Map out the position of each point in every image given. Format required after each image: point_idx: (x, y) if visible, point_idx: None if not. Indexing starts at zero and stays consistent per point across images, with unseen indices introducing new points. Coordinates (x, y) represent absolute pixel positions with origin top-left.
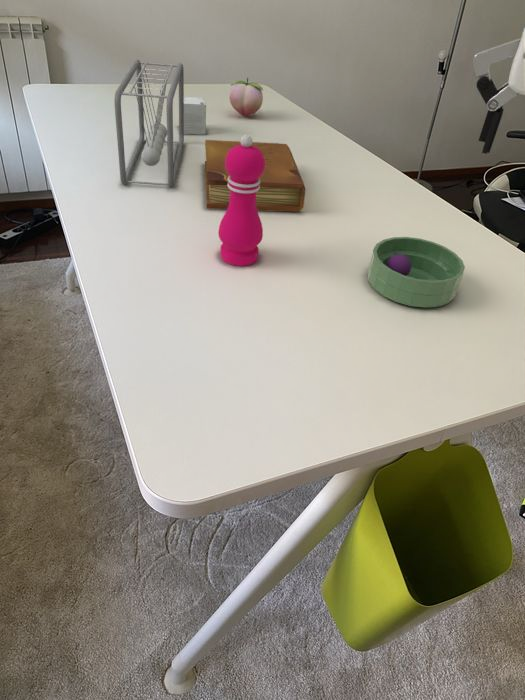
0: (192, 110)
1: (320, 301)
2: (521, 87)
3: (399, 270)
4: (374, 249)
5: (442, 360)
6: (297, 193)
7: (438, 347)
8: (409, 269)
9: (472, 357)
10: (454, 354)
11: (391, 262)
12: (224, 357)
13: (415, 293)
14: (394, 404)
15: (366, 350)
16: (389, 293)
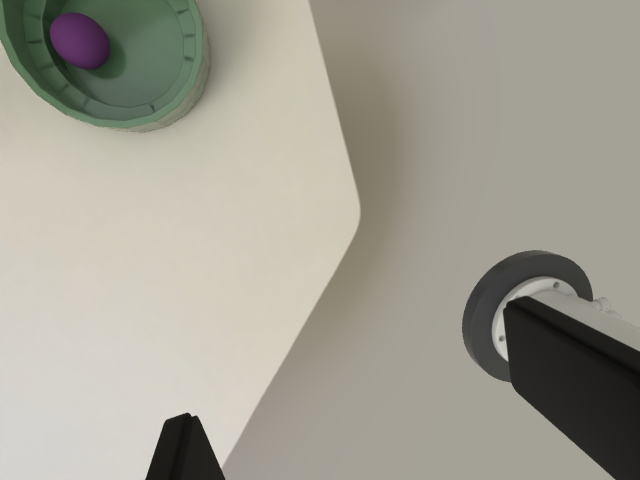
0: None
1: (52, 212)
2: None
3: (94, 64)
4: (13, 62)
5: (266, 211)
6: None
7: (250, 189)
8: (106, 44)
9: (293, 177)
10: (272, 188)
11: (66, 57)
12: (63, 399)
13: (163, 122)
14: (259, 320)
15: (181, 264)
16: (124, 130)
